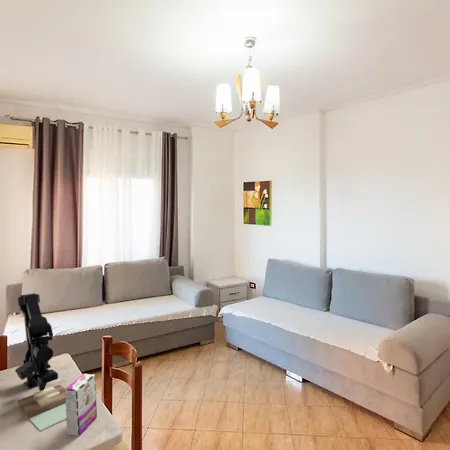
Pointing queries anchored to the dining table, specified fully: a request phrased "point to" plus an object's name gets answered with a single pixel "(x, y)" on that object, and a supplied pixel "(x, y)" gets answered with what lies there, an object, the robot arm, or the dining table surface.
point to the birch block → (46, 396)
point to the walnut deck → (34, 408)
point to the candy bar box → (80, 404)
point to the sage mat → (49, 417)
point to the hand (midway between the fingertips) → (41, 391)
